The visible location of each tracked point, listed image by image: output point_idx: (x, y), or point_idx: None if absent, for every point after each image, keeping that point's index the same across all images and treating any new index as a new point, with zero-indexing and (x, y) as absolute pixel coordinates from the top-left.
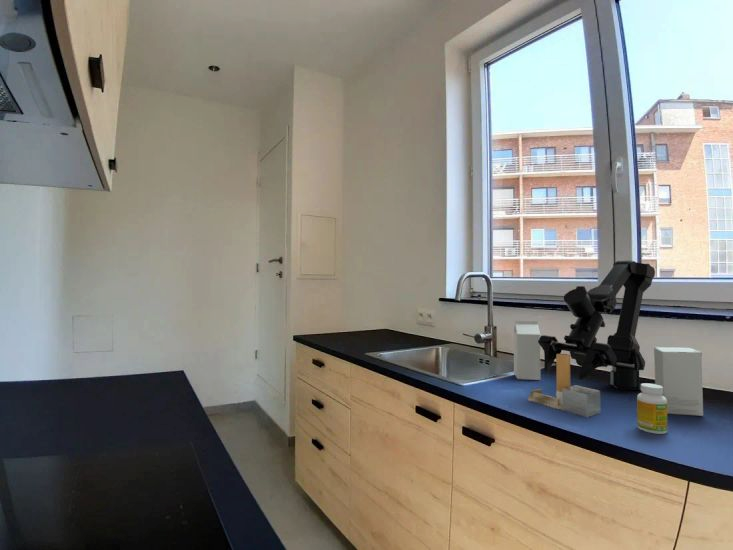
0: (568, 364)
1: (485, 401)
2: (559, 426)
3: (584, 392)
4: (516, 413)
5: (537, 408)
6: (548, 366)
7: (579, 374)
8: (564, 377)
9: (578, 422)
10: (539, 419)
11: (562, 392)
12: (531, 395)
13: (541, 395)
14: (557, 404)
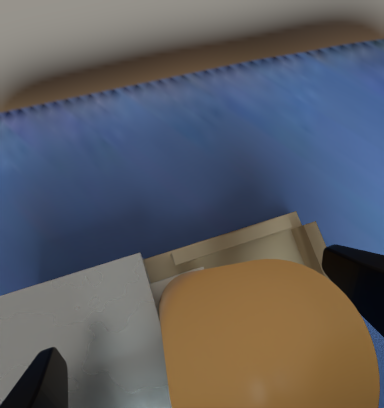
0: (164, 354)
1: (302, 68)
2: (8, 126)
3: (22, 323)
4: (166, 83)
5: (194, 183)
6: (354, 282)
7: (42, 365)
8: (167, 293)
9: (11, 219)
10: (91, 112)
11: (169, 279)
12: (299, 226)
13: (248, 228)
14: (170, 254)
